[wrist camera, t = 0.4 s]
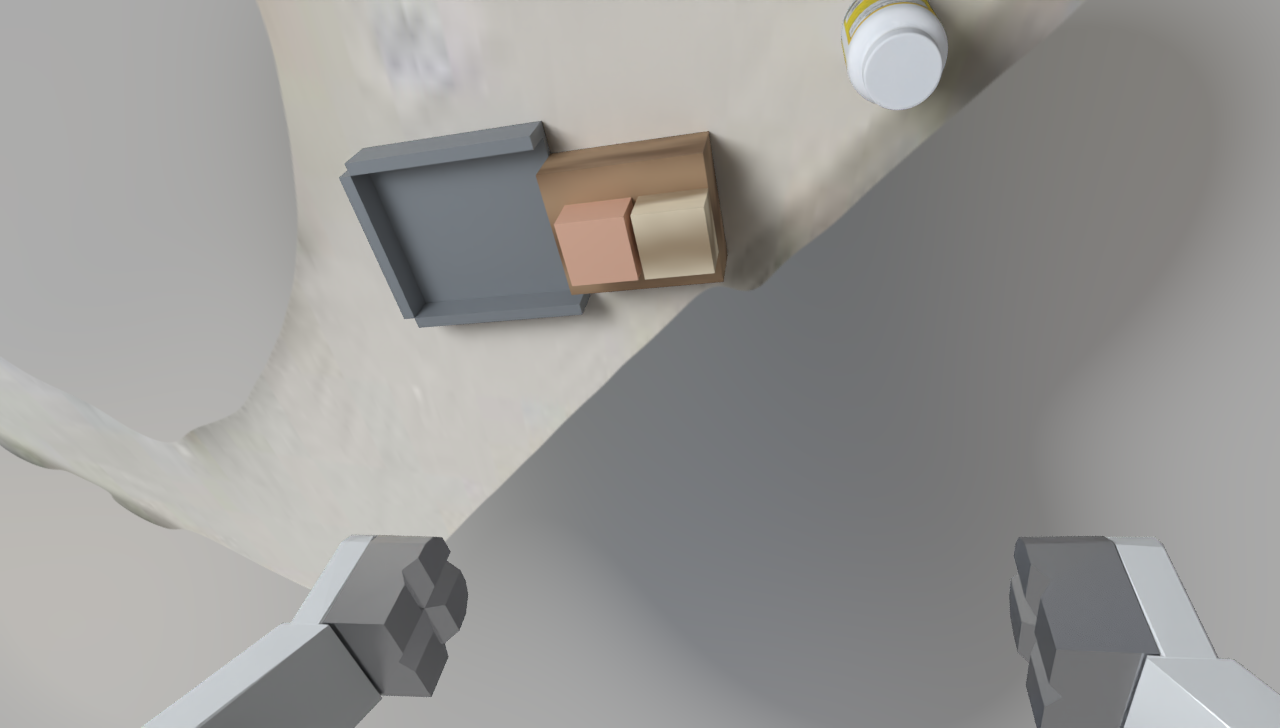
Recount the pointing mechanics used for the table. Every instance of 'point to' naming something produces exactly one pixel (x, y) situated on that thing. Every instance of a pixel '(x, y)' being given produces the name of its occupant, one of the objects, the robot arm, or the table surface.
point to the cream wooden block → (675, 234)
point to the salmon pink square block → (599, 242)
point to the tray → (463, 226)
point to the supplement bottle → (894, 51)
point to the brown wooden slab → (633, 189)
